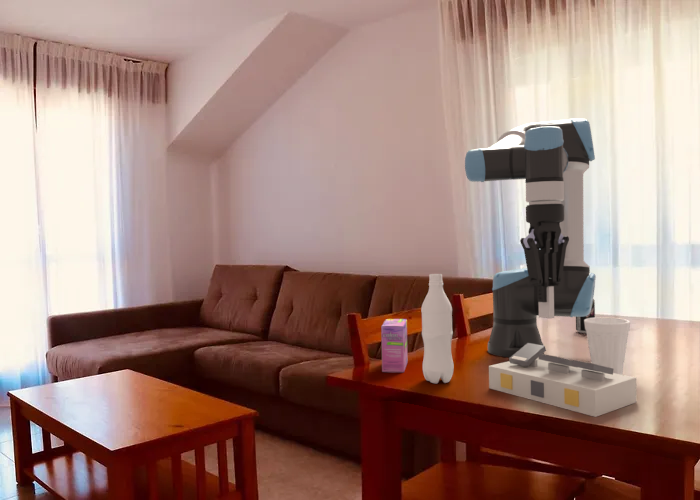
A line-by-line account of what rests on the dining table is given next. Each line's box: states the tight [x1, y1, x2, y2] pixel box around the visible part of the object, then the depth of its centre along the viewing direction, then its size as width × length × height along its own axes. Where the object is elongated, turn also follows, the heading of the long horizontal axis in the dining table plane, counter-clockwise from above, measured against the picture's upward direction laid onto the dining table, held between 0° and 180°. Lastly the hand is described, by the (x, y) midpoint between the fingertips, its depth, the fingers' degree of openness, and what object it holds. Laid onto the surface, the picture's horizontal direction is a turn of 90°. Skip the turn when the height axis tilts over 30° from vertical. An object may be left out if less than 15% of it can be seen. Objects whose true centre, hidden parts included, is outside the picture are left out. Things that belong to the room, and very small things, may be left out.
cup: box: [584, 316, 631, 375], centre depth 141 cm, size 10×10×13 cm
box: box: [380, 318, 409, 373], centre depth 156 cm, size 10×6×12 cm, turn 170°
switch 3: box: [572, 359, 614, 375], centre depth 121 cm, size 7×5×1 cm, turn 125°
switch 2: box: [538, 353, 574, 367], centre depth 128 cm, size 7×5×1 cm, turn 125°
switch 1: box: [508, 343, 547, 367], centre depth 134 cm, size 7×5×1 cm, turn 125°
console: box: [488, 357, 637, 418], centre depth 128 cm, size 14×26×6 cm, turn 35°
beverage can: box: [575, 298, 596, 334], centre depth 195 cm, size 6×6×12 cm
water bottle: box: [420, 273, 455, 384], centre depth 141 cm, size 7×7×25 cm
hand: (546, 317), depth 126 cm, fingers closed
